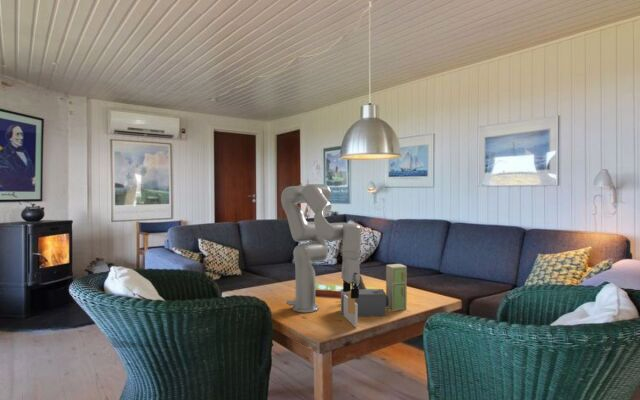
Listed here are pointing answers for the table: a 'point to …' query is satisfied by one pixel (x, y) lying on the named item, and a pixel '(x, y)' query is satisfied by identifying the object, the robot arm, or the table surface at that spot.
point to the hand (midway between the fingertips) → (350, 294)
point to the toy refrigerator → (396, 286)
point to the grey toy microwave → (369, 302)
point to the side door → (350, 309)
